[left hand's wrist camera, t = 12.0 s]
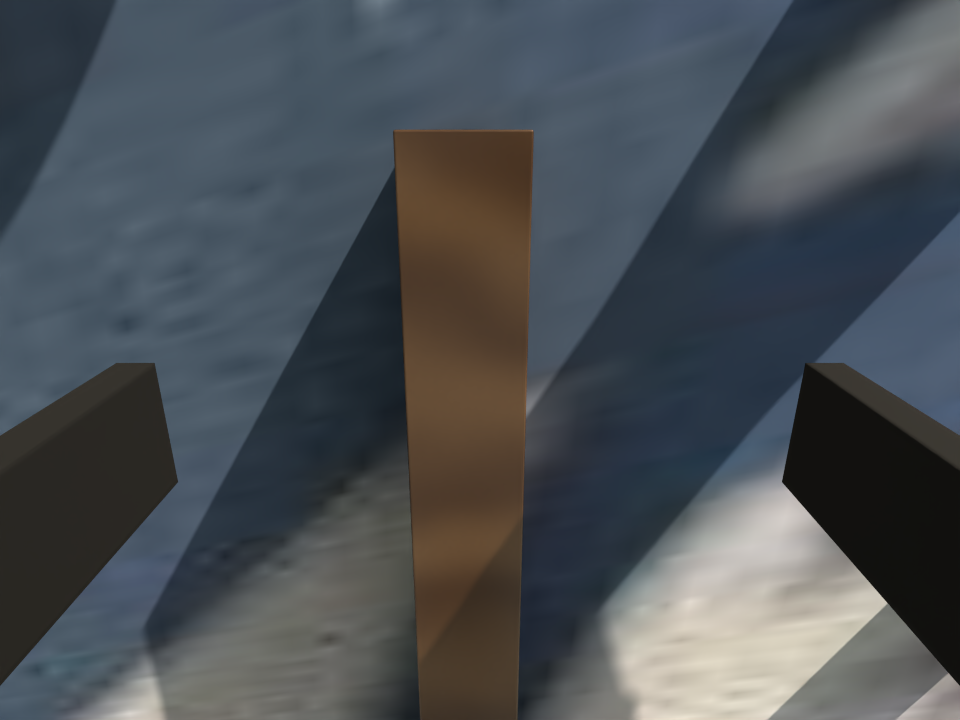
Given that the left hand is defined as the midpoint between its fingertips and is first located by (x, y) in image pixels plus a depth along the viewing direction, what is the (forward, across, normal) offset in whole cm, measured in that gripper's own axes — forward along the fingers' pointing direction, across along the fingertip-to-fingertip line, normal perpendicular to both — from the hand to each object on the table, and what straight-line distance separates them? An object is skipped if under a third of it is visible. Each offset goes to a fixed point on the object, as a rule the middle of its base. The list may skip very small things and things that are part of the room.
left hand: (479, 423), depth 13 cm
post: (+20, -1, -23) cm, 30 cm away
